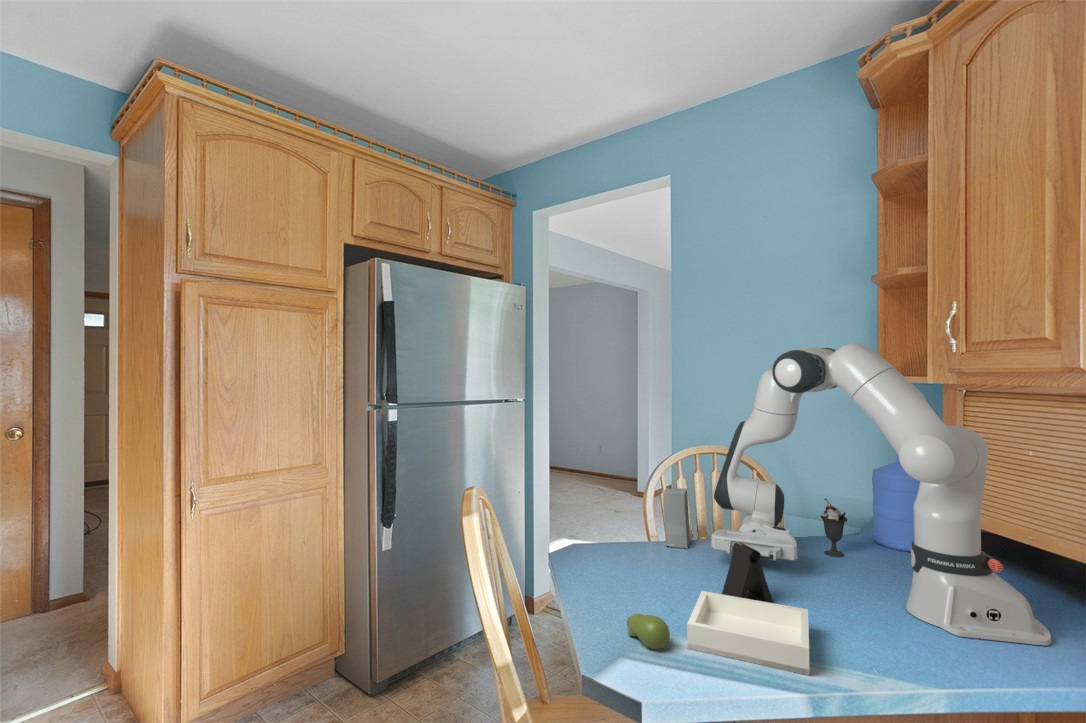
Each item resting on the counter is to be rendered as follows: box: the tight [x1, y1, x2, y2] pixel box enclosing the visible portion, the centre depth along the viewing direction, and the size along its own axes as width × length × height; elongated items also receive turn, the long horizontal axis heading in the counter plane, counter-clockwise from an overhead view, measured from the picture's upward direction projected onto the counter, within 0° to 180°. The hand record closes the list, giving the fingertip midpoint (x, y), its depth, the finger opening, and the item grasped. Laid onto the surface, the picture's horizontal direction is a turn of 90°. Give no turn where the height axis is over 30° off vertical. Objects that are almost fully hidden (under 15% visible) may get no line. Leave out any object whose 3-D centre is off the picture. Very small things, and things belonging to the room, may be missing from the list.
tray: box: [686, 590, 811, 677], centre depth 99 cm, size 20×16×4 cm
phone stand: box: [721, 542, 774, 603], centre depth 116 cm, size 9×6×12 cm, turn 105°
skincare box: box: [662, 487, 691, 550], centre depth 155 cm, size 8×7×16 cm
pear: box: [626, 613, 671, 650], centre depth 99 cm, size 6×5×10 cm
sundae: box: [820, 498, 848, 558], centre depth 146 cm, size 7×7×15 cm
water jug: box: [871, 453, 920, 553], centre depth 154 cm, size 16×16×28 cm
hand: (751, 554), depth 127 cm, fingers open, 8 cm apart
